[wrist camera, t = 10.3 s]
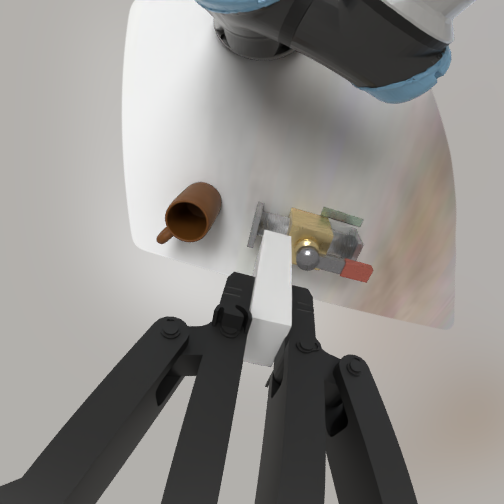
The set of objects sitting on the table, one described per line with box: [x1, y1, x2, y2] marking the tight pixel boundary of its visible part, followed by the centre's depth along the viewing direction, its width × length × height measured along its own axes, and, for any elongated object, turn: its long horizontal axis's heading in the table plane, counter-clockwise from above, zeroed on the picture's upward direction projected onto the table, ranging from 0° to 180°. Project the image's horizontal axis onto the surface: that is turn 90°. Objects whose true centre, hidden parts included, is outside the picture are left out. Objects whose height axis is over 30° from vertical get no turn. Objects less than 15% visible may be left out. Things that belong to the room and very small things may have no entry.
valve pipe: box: [247, 202, 363, 270], centre depth 46 cm, size 9×20×9 cm, turn 78°
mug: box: [157, 182, 221, 244], centre depth 46 cm, size 12×8×9 cm, turn 126°
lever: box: [296, 245, 373, 283], centre depth 42 cm, size 13×4×2 cm, turn 77°
